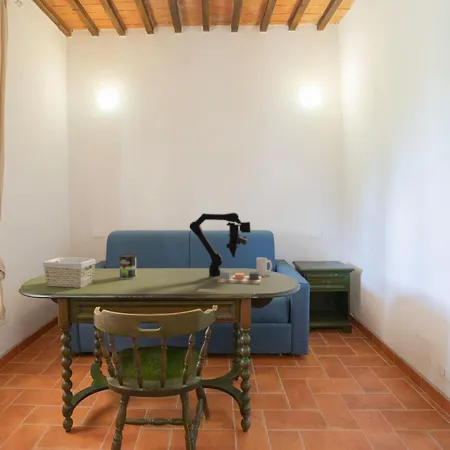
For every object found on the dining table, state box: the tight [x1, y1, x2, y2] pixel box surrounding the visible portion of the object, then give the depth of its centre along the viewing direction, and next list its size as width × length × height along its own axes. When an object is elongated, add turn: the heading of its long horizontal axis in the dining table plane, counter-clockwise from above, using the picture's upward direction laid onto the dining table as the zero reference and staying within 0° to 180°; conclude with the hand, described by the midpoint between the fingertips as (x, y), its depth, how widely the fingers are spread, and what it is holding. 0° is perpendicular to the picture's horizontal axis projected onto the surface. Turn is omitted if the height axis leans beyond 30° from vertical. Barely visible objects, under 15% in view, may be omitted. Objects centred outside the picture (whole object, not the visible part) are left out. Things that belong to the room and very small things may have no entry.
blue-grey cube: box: [221, 270, 231, 279], centre depth 193 cm, size 5×5×5 cm
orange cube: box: [234, 272, 245, 279], centre depth 192 cm, size 5×5×5 cm
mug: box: [255, 256, 273, 277], centre depth 207 cm, size 10×7×12 cm, turn 91°
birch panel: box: [216, 274, 263, 285], centre depth 192 cm, size 25×12×3 cm, turn 80°
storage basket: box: [42, 256, 97, 289], centre depth 188 cm, size 24×16×15 cm
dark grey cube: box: [249, 271, 259, 280], centre depth 190 cm, size 5×5×5 cm
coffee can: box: [118, 253, 137, 280], centre depth 205 cm, size 10×10×14 cm
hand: (233, 257), depth 204 cm, fingers closed
